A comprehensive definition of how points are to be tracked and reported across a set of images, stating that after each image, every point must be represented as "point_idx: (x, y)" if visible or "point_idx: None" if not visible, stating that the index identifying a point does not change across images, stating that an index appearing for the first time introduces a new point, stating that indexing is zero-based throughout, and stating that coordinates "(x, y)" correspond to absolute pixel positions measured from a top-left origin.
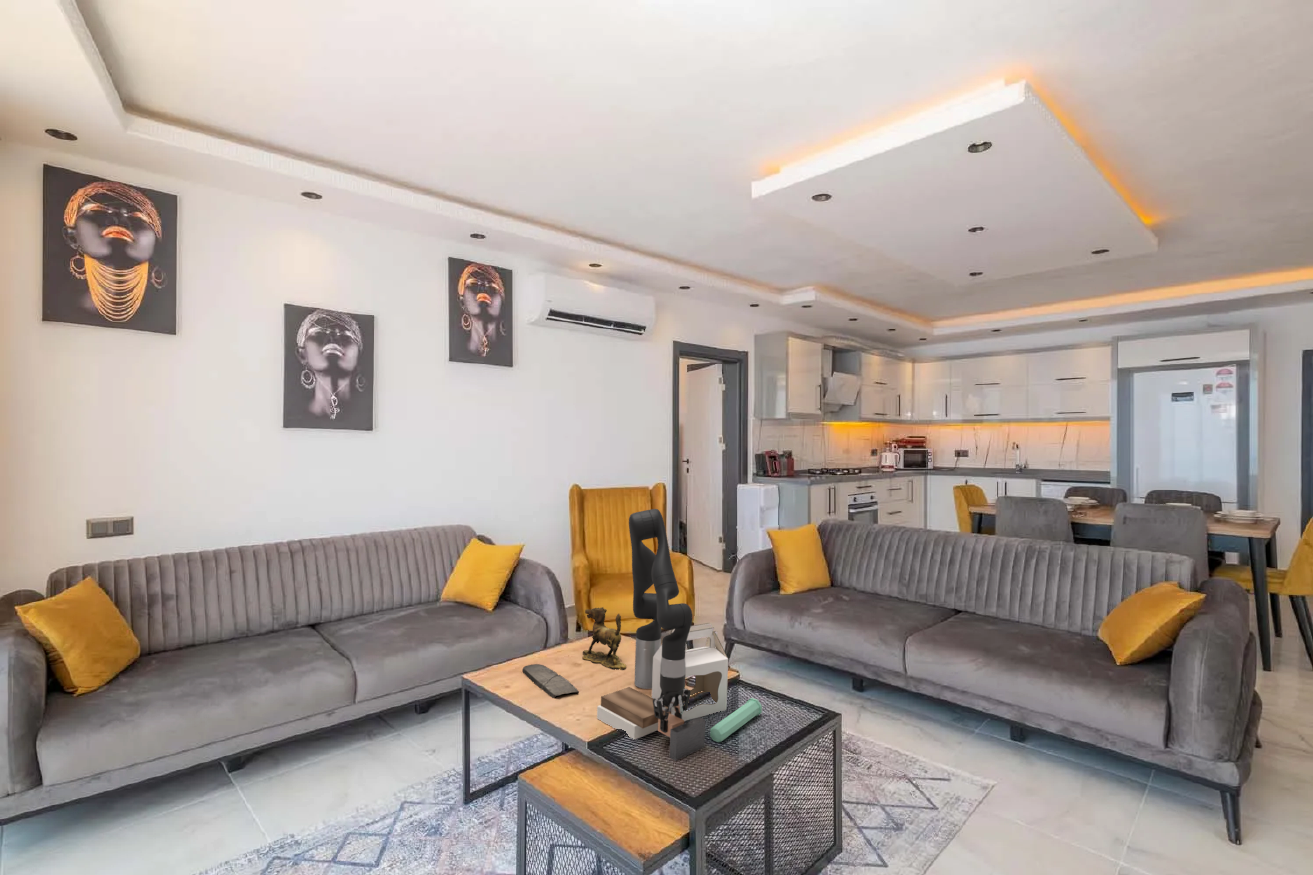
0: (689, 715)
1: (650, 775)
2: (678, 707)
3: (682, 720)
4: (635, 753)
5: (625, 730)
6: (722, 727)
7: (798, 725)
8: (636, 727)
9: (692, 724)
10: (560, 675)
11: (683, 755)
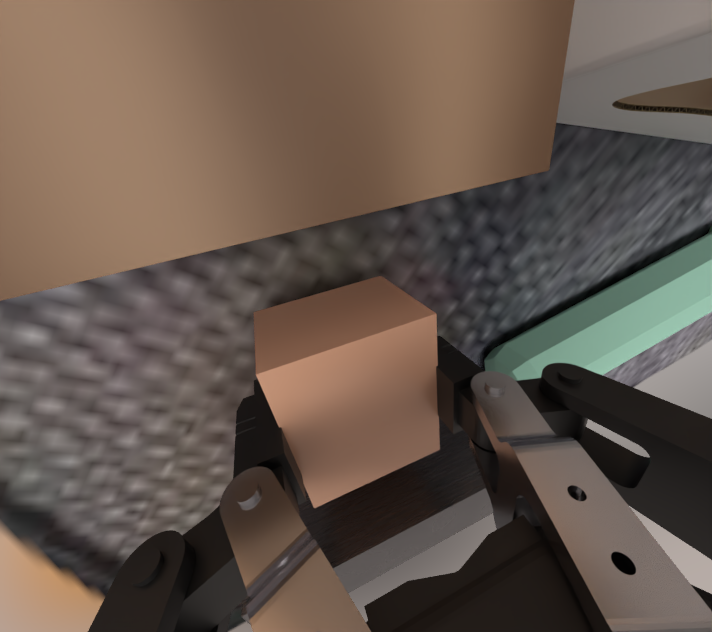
0: (593, 119)
1: (75, 545)
2: (498, 516)
3: (428, 449)
4: (23, 362)
5: None
6: None
7: (682, 349)
8: None
9: (426, 541)
10: None
11: None
